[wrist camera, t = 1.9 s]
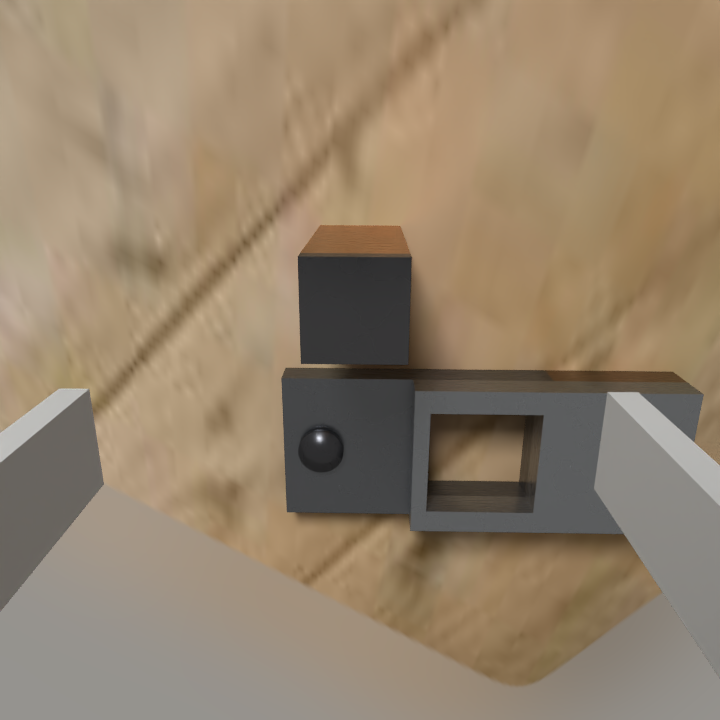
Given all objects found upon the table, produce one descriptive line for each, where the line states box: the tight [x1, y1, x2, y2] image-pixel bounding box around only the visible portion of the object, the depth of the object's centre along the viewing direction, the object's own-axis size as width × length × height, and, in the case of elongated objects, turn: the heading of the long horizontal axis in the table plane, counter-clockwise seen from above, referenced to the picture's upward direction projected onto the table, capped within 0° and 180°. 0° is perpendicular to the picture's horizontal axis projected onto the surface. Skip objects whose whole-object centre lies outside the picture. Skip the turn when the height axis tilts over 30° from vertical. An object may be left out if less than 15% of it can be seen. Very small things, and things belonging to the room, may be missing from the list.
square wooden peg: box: [298, 225, 412, 365], centre depth 33 cm, size 5×5×12 cm
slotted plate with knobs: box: [282, 368, 704, 534], centre depth 40 cm, size 10×26×5 cm, turn 90°
